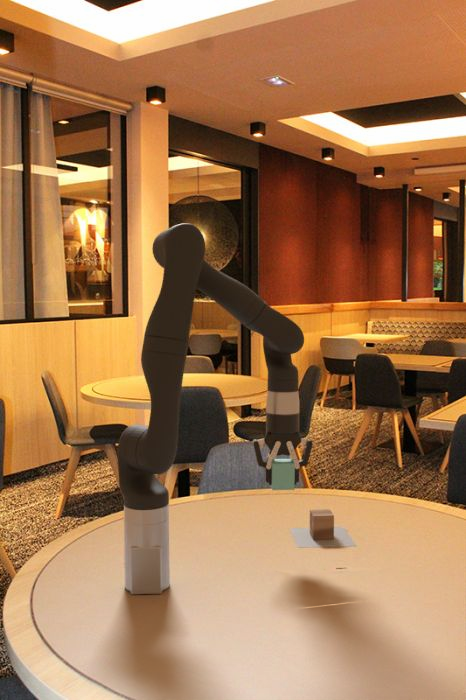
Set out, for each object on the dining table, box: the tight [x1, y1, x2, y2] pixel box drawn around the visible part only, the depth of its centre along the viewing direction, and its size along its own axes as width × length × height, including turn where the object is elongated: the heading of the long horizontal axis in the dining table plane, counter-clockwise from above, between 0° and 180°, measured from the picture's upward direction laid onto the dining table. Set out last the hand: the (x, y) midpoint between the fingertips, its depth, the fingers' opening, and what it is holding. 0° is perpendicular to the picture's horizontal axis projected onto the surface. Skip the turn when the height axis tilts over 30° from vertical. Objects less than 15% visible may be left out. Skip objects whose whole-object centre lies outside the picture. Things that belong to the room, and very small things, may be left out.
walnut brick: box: [309, 508, 335, 540], centre depth 173 cm, size 5×5×6 cm
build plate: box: [289, 526, 357, 549], centre depth 174 cm, size 14×14×1 cm
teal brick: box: [269, 458, 295, 491], centre depth 162 cm, size 5×5×6 cm
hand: (282, 484), depth 162 cm, fingers closed on teal brick, 5 cm apart
